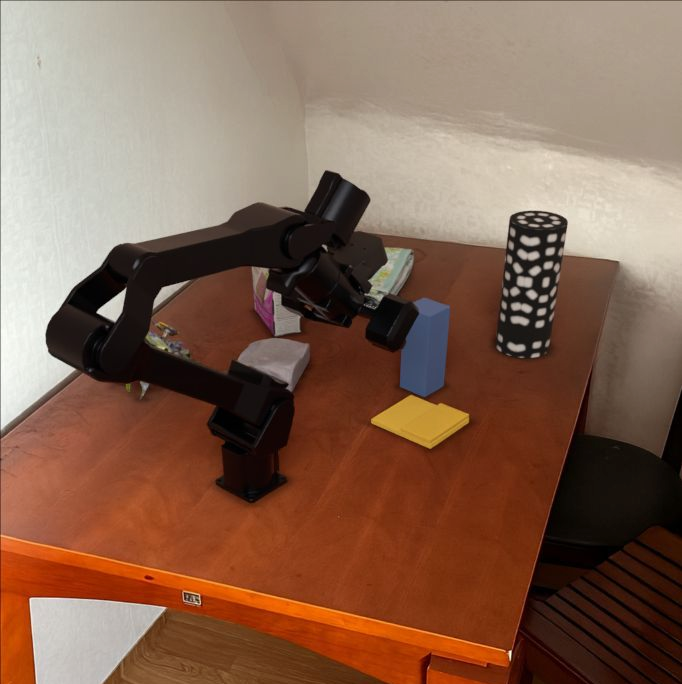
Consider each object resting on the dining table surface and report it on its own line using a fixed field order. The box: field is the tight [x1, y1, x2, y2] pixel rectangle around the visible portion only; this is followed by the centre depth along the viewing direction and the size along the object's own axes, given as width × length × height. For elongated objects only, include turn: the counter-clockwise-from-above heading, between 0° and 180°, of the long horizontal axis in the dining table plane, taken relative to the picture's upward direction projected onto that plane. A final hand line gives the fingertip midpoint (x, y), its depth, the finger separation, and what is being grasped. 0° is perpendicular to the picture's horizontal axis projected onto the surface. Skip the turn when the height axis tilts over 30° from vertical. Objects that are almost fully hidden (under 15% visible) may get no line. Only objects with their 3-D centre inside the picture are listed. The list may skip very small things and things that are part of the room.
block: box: [399, 296, 451, 398], centre depth 133 cm, size 5×5×12 cm
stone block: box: [237, 337, 311, 393], centre depth 138 cm, size 12×5×10 cm
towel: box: [322, 245, 415, 308], centre depth 164 cm, size 18×21×5 cm
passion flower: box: [125, 320, 202, 401], centre depth 134 cm, size 11×11×12 cm
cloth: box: [370, 394, 470, 450], centre depth 128 cm, size 9×10×1 cm
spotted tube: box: [494, 210, 569, 359], centre depth 142 cm, size 8×8×20 cm
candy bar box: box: [251, 267, 302, 337], centre depth 149 cm, size 11×5×16 cm, turn 22°
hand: (376, 334), depth 123 cm, fingers open, 9 cm apart
